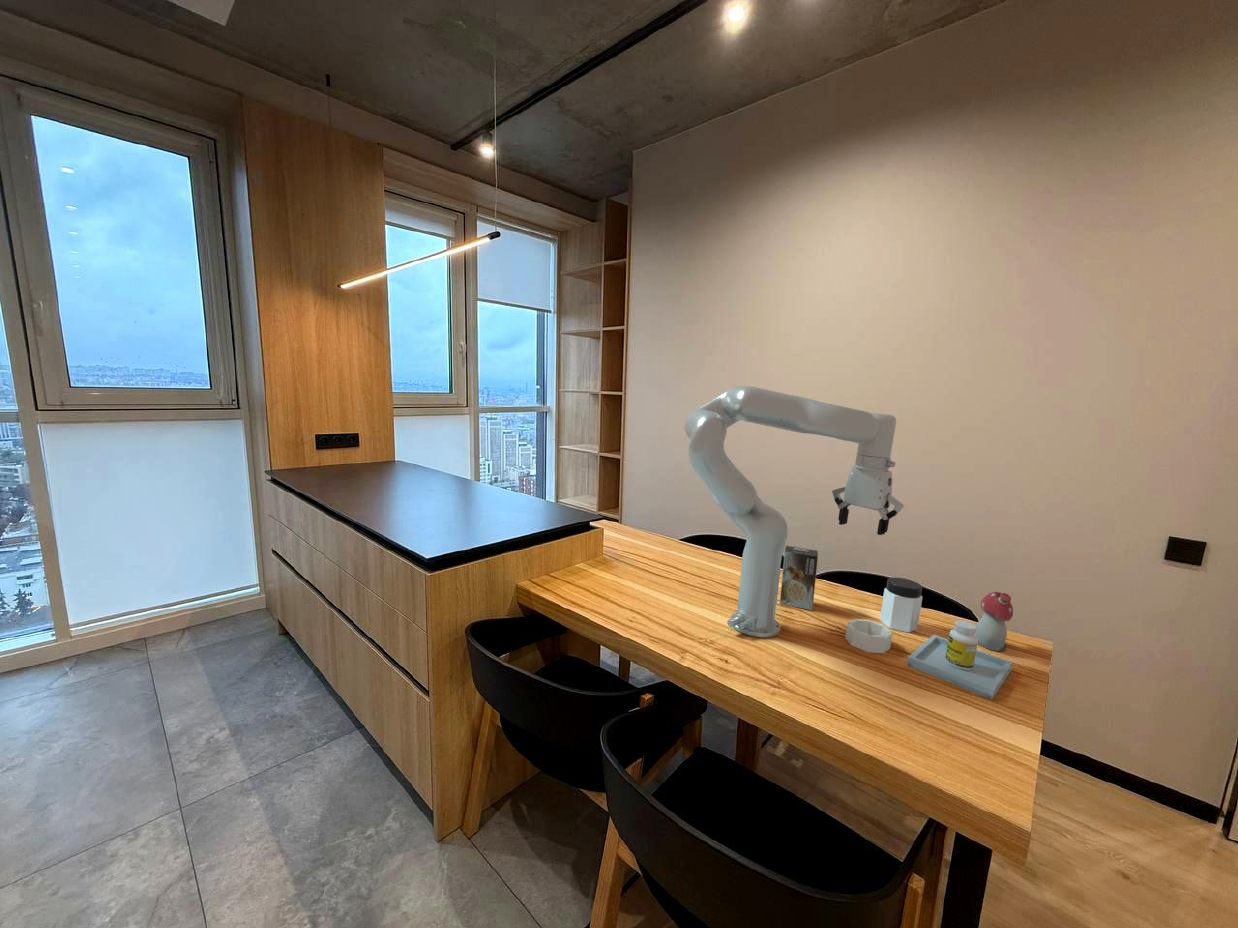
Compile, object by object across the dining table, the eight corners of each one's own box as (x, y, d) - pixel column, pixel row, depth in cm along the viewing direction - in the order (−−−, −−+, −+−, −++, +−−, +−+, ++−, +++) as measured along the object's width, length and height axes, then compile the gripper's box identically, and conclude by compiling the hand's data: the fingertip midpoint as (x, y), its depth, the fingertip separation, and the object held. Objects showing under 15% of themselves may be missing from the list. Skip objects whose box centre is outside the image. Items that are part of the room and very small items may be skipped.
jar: (905, 635, 128) (912, 591, 126) (874, 622, 134) (880, 580, 132) (922, 627, 132) (929, 585, 131) (891, 615, 139) (898, 575, 137)
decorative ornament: (1006, 657, 119) (1017, 598, 117) (973, 647, 123) (983, 590, 121) (1005, 642, 127) (1015, 587, 124) (974, 634, 130) (983, 580, 128)
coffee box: (812, 602, 145) (819, 550, 143) (812, 611, 139) (819, 556, 137) (780, 596, 148) (785, 544, 146) (778, 604, 142) (784, 550, 140)
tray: (992, 699, 101) (993, 690, 101) (907, 664, 113) (908, 656, 113) (1010, 670, 113) (1012, 662, 113) (932, 641, 125) (933, 634, 124)
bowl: (879, 656, 116) (881, 641, 115) (840, 640, 122) (842, 625, 122) (894, 645, 122) (896, 630, 121) (856, 630, 129) (858, 616, 128)
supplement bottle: (939, 657, 115) (945, 618, 114) (960, 657, 116) (967, 618, 114) (956, 670, 110) (964, 630, 108) (979, 671, 110) (986, 630, 109)
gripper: (915, 468, 119) (903, 536, 121) (845, 457, 132) (835, 519, 134) (903, 469, 114) (891, 540, 117) (831, 457, 127) (821, 521, 130)
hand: (861, 528), depth 126 cm, fingers open, 9 cm apart
